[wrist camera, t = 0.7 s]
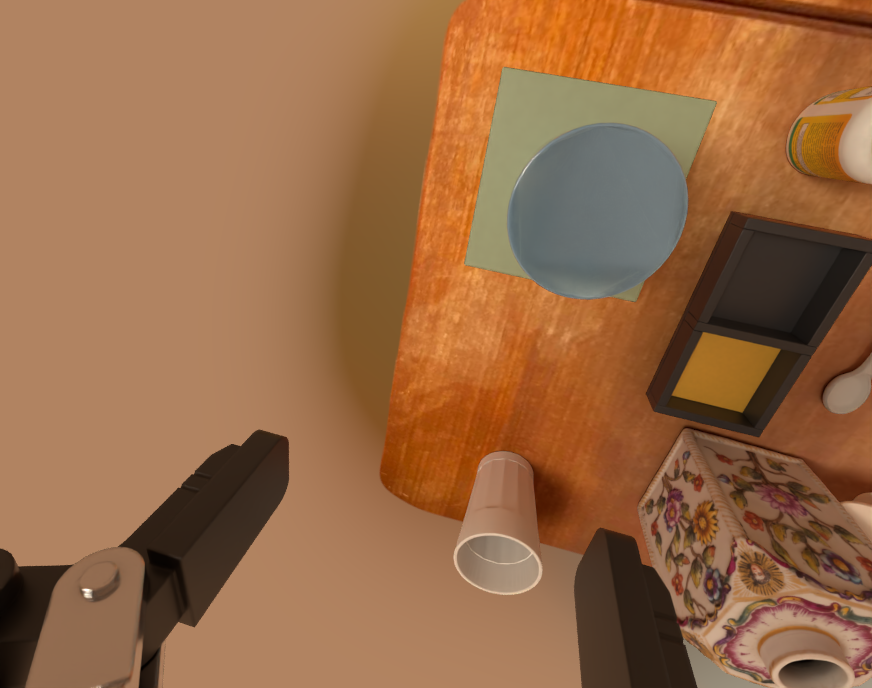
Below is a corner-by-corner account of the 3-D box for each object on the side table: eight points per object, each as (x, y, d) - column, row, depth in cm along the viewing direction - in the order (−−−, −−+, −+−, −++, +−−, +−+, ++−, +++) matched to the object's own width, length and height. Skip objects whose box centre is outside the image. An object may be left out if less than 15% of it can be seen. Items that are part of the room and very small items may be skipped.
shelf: (514, 94, 33) (502, 66, 20) (646, 116, 32) (718, 101, 19) (487, 223, 37) (463, 265, 25) (601, 247, 36) (636, 302, 24)
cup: (535, 505, 50) (535, 603, 39) (468, 492, 51) (450, 583, 41) (546, 452, 46) (549, 544, 36) (473, 439, 48) (456, 525, 37)
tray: (731, 210, 33) (748, 217, 30) (856, 234, 32) (886, 243, 29) (645, 393, 41) (653, 411, 38) (743, 417, 40) (759, 437, 37)
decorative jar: (632, 505, 47) (682, 692, 31) (680, 423, 41) (770, 599, 26) (743, 538, 46) (855, 751, 30) (808, 458, 40) (985, 665, 24)
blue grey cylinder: (532, 118, 21) (530, 107, 14) (657, 140, 20) (722, 140, 13) (503, 239, 24) (490, 281, 17) (613, 262, 23) (647, 315, 16)
